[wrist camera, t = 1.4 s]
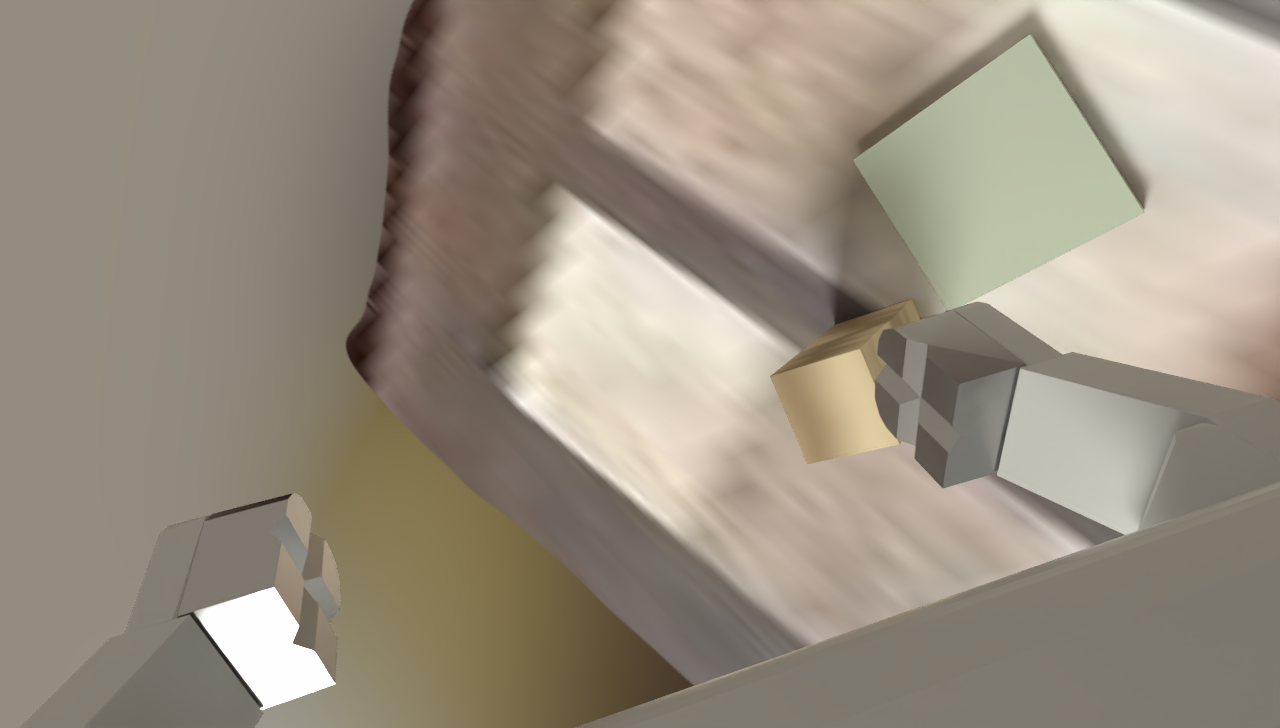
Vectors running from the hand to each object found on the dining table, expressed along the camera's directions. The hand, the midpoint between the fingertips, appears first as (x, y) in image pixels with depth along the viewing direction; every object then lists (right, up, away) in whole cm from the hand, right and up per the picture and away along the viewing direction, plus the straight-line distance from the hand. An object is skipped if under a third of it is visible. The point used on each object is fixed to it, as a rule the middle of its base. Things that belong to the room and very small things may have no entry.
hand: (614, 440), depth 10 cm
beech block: (+15, +2, +34) cm, 37 cm away
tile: (+19, +11, +28) cm, 36 cm away
